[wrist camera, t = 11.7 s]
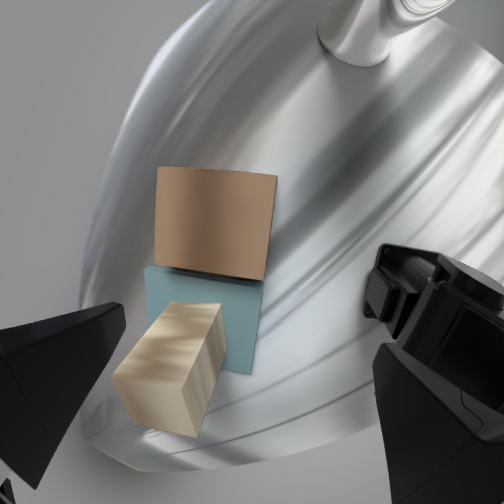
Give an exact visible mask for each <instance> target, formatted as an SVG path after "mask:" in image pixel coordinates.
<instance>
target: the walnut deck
mask: <svg viewBox="0 0 504 504" xmlns="http://www.w3.org/2000/svg"><path fill="white" fill-rule="evenodd" d="M276 184H277V176H276V175H267V174H259V173H250V172H240V171H229V170H217V169H203V168H187V167H158V174H157V190H156V211H155V264H160V265H166V266H172V267H178V268H184V269H190V270H197V271H203V272H209V273H216V274H223V275H229V276H236V277H243V278H250V279H257V280H264V275H265V269H266V263H267V256H268V248H269V240H270V233H271V225H272V217H273V209H274V201H275V192H276Z"/></svg>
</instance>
